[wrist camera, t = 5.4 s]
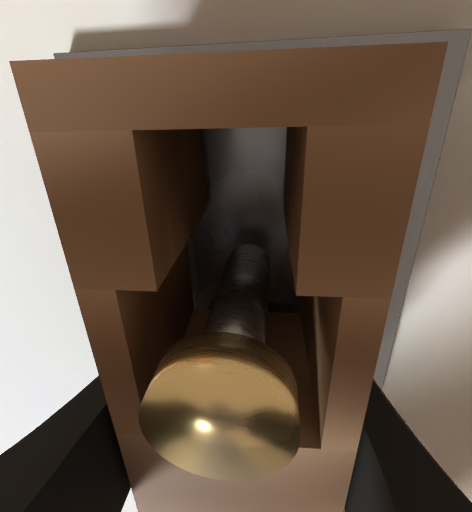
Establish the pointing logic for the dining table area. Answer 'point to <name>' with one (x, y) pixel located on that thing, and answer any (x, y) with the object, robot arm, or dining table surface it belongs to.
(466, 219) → the dining table surface
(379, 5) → the dining table surface
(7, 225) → the dining table surface
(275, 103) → the block
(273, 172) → the hook plate
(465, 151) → the dining table surface
